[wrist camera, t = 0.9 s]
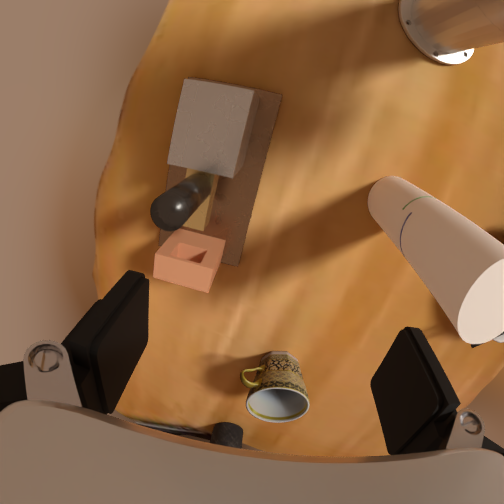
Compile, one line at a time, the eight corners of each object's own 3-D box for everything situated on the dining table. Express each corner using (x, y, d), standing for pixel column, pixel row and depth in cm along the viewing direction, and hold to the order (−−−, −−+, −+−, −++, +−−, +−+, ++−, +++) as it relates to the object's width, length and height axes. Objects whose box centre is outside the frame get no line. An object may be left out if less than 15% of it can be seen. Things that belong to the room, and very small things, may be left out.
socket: (177, 227, 41) (155, 253, 34) (225, 240, 41) (212, 269, 34) (174, 248, 43) (153, 277, 35) (221, 261, 43) (208, 292, 35)
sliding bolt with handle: (212, 87, 29) (175, 71, 18) (238, 92, 29) (215, 76, 18) (185, 216, 35) (145, 260, 25) (209, 222, 35) (178, 270, 25)
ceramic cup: (318, 363, 51) (322, 406, 42) (278, 387, 54) (276, 428, 45) (267, 324, 48) (263, 368, 39) (227, 353, 52) (218, 396, 42)
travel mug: (208, 421, 62) (191, 493, 44) (239, 420, 61) (226, 496, 43) (219, 437, 65) (205, 504, 47) (247, 436, 64) (238, 506, 46)
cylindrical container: (358, 211, 39) (438, 329, 16) (383, 166, 36) (501, 238, 13) (397, 234, 39) (488, 352, 17) (422, 191, 36) (541, 280, 14)
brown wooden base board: (190, 77, 33) (163, 67, 25) (282, 95, 33) (282, 87, 25) (160, 242, 43) (134, 273, 35) (238, 263, 44) (228, 299, 35)
